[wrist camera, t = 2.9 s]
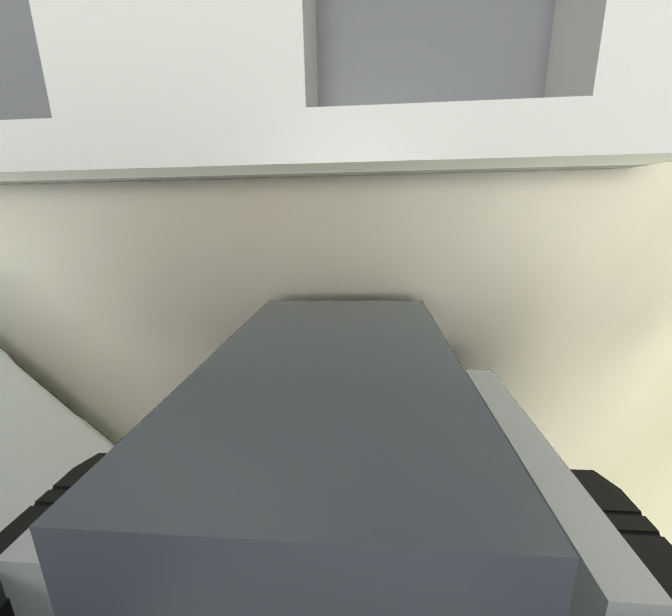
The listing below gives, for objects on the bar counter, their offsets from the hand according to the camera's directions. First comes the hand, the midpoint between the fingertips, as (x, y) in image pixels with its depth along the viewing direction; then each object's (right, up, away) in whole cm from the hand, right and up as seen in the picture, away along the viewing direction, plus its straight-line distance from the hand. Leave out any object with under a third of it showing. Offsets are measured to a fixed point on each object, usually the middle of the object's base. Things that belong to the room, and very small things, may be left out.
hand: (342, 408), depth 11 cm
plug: (0, +1, +3) cm, 3 cm away
